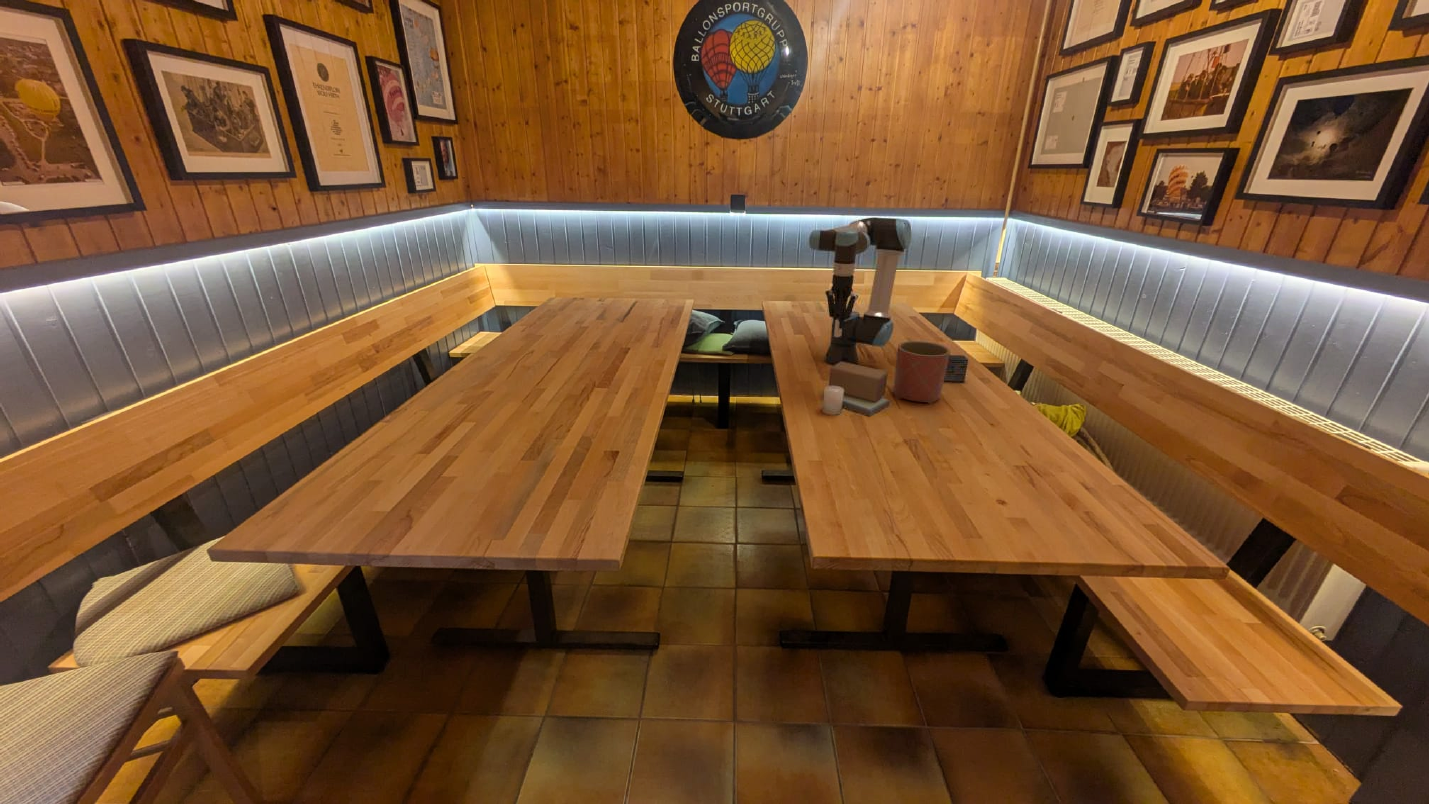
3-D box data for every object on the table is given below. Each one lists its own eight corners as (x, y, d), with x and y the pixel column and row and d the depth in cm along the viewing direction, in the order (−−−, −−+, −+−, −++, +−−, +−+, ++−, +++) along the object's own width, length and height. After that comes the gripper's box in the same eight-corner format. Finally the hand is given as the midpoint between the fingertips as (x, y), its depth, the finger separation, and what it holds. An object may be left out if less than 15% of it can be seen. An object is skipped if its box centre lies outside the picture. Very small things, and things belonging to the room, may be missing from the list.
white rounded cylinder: (818, 411, 208) (820, 389, 204) (829, 405, 212) (831, 384, 209) (834, 416, 203) (837, 394, 200) (845, 411, 208) (847, 389, 204)
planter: (943, 391, 227) (951, 344, 219) (939, 408, 211) (948, 358, 203) (895, 383, 234) (901, 338, 226) (887, 400, 218) (894, 351, 210)
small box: (960, 377, 241) (964, 354, 237) (964, 383, 235) (969, 359, 231) (935, 376, 242) (939, 353, 238) (939, 382, 236) (943, 358, 232)
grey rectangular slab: (826, 401, 216) (827, 395, 215) (846, 392, 225) (847, 386, 224) (870, 416, 204) (870, 410, 203) (889, 405, 213) (889, 399, 212)
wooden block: (838, 383, 227) (885, 395, 216) (827, 391, 219) (875, 403, 209) (840, 360, 223) (888, 370, 212) (829, 367, 215) (879, 378, 205)
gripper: (822, 273, 205) (817, 334, 214) (853, 278, 196) (846, 342, 206) (834, 270, 210) (828, 330, 219) (864, 275, 201) (857, 337, 211)
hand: (837, 336), depth 213 cm, fingers closed
